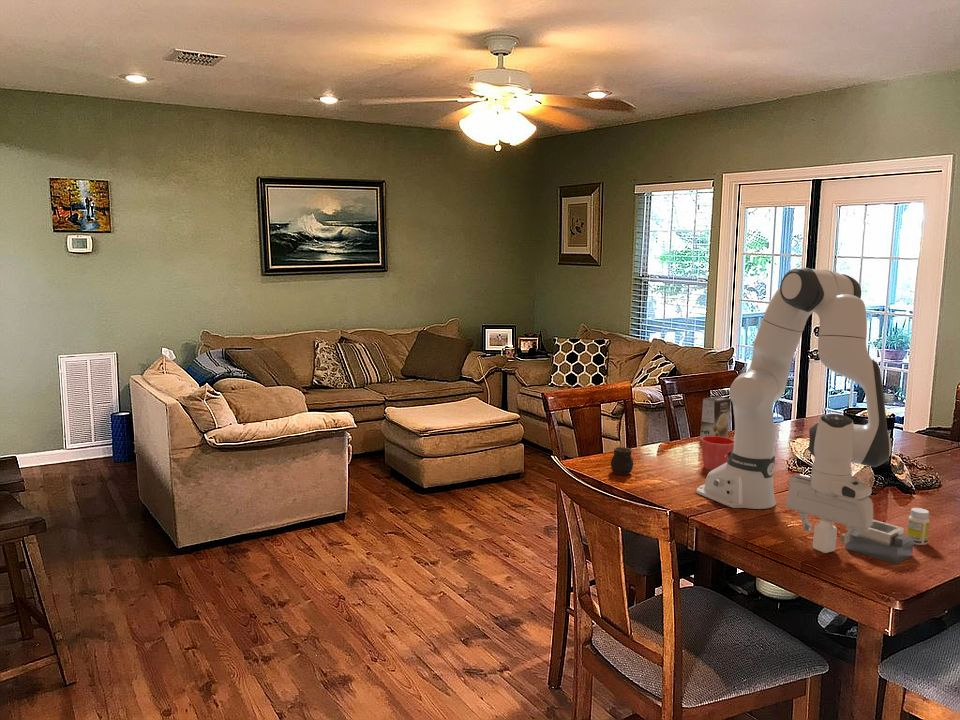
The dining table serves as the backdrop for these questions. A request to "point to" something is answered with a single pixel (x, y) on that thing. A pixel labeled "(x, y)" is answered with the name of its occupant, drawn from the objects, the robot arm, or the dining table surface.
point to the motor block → (882, 542)
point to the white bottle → (825, 536)
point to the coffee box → (715, 417)
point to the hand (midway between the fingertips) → (825, 535)
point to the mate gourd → (622, 461)
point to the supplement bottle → (918, 526)
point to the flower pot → (715, 451)
